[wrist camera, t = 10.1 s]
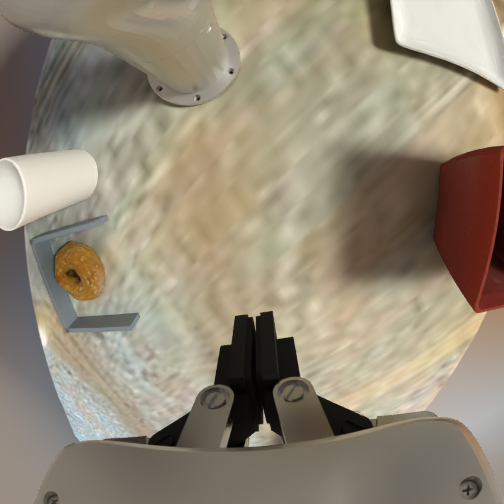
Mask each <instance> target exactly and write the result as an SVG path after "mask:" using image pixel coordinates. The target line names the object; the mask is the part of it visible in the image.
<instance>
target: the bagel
mask: <svg viewBox="0 0 504 504" xmlns="http://www.w3.org/2000/svg"><path fill="white" fill-rule="evenodd" d="M104 275H105V272H104V267H103V264H102V262H101V260H100V258H99V256H98V255H97V254H96V252H95V251H94V250H93V249H92V248H91V247H89V246H87V245H85V244H82V243H77V242H73V241H71V242H68V243H67V244H66V245H64V246H63V248H61V249H60V250H59V251H58V252H57V254H56V256H55V279H56V281H57V282H58V284H59V285H60V286H61V287H64V289H65V290H66V291H67V292H69V293H70V294H71V295H72V297H74V298H75V299H77V300H83V301H85V300H93V299H95V298H97V297H99V296H100V294H101V293H102V290H103V288H104V283H105V276H104Z"/></svg>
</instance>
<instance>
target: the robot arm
mask: <svg viewBox="0 0 504 504" xmlns="http://www.w3.org/2000/svg"><path fill="white" fill-rule="evenodd" d="M0 14H1V16H2V17H3V18H4V19H5V20H6V21H8V22H9V23H10V24H12V25H14V26H15V27H17V28H19V29H21V30H23V31H25V32H28V33H31V34H34V35H38V36H42V37H47V38H53V39H60V40H69V41H78V42H84V43H89V44H92V45H95V46H98V47H100V48H102V49H104V50H106V51H108V52H110V53H112V54H114V55H115V56H117V57H119V58H120V59H122V60H124V61H125V62H127V63H129V64H130V65H132V66H134V67H135V68H137V69H139V70H140V71H142V72H143V73H145V74H147V78H148V82H149V84H150V86H151V88H152V89H153V90H154V92H155V93H156V94H157V95H158V96H160V97H161V98H162V99H164V100H166V101H168V102H170V103H173V104H176V105H182V106H194V105H200V104H204V103H206V102H209V101H211V100H213V99H215V98H217V97H219V96H220V95H221V94H222V93H224V92H225V91H226V90H227V89H228V88H229V87H230V86H231V85H232V83H233V82H234V80H235V78H236V77H237V74H238V71H239V68H240V52H239V48H238V45H237V43H236V41H235V40H234V38H233V37H232V36H231V35H230V34H229V33H228V32H227V31H225V30H224V29H222V28H220V27H219V25H218V22H217V19H216V16H215V13H214V10H213V7H212V4H211V1H210V0H0ZM223 38H227V39H223ZM230 72H233V74H230ZM161 88H163V89H162V91H160V89H161ZM198 97H200V100H199V101H197V98H198ZM263 409H264V413H265V417H266V422H267V424H268V423H270V427H271V430H272V431H273V432H275V433H276V434H278V435H280V436H281V438H282V443H283V444H280V445H270V446H258V447H248V446H249V437H250V436H251V435H252V434H253V433H254V432H256V431H259V424H263ZM34 504H504V497H503V495H502V492H501V489H500V487H499V484H498V482H497V480H496V477H495V475H494V473H493V470H492V468H491V466H490V463H489V461H488V460H487V458H486V456H485V454H484V452H483V450H482V448H481V446H480V445H479V443H478V442H477V440H476V438H475V437H474V436H473V434H472V433H471V432H470V431H469V429H468V428H467V427H466V426H465V425H464V424H463V423H461V422H459V421H458V420H455V419H452V418H446V417H438V416H436V415H435V414H434V413H432V412H429V411H420V412H413V413H405V414H397V415H387V416H377V419H368V418H367V417H365V416H363V415H361V414H358V413H356V412H354V411H351V410H349V409H347V408H344V407H342V406H340V405H337V404H335V403H333V402H331V401H329V400H326V399H324V398H322V397H320V396H318V395H316V392H315V390H314V388H313V385H312V384H311V383H310V381H308V380H307V379H304V378H301V377H300V373H299V367H298V361H297V355H296V349H295V344H294V338H293V337H288V338H282V339H277V336H276V330H275V323H274V317H273V311H269V312H262V313H260V316H256V331H255V326H254V321H253V317H248V315H239V316H235V320H234V328H233V336H232V344H231V345H223V346H221V347H220V352H219V358H218V364H217V370H216V376H215V381H214V385H212V386H208V387H206V388H204V389H203V390H202V391H200V392H199V394H198V395H197V397H196V399H195V402H194V404H193V407H192V409H191V411H190V412H189V413H187V414H186V415H184V416H183V417H181V418H180V419H178V420H176V421H175V422H173V423H172V424H170V425H168V426H167V427H165V428H164V429H162V430H160V431H159V432H157V433H156V434H154V435H153V436H152V437H151V438H148V437H147V436H140V437H128V438H110V439H104V440H88V441H81V442H76V443H72V444H69V445H68V446H66V447H64V448H63V449H62V450H61V451H60V452H59V453H58V455H57V456H56V458H55V460H54V461H53V463H52V464H51V466H50V468H49V470H48V472H47V474H46V476H45V478H44V480H43V482H42V485H41V487H40V489H39V492H38V494H37V497H36V499H35V502H34Z"/></svg>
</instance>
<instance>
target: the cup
mask: <svg viewBox="0 0 504 504" xmlns="http://www.w3.org/2000/svg"><path fill="white" fill-rule="evenodd" d="M97 180H98V171H97V166H96V163H95V161H94V159H93V157H92V156H91V155H90V154H89V153H88V152H86V151H84V150H65V151H54V152H45V153H36V154H28V155H21V156H15V157H8V158H3V159H0V228H1V229H3V230H6V231H11V230H14V229H17V228H19V227H21V226H23V225H25V224H28V223H30V222H32V221H35V220H37V219H39V218H42V217H44V216H46V215H49V214H51V213H54V212H56V211H59V210H61V209H64V208H66V207H69V206H71V205H74V204H77V203H79V202H82V201H84V200H86V199H88V198H89V197H90V196H91V195H92V193H93V192H94V190H95V188H96V185H97Z"/></svg>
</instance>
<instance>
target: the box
mask: <svg viewBox="0 0 504 504" xmlns="http://www.w3.org/2000/svg"><path fill="white" fill-rule="evenodd" d="M106 221H108V216H107V215H105V216H101V217H98V218H94V219H90V220H87V221H83V222H79V223H76V224H72V225H69V226H65V227H62V228H59V229H55V230H52V231H49V232H46V233H43V234H41V235H39V236H37V237H35V238H33V239H31V240H30V242H31V245H32V249H33V252H34V255H35V258H36V261H37V264H38V267H39V269H40V272H41V275H42V277H43V280H44V283H45V285H46V288H47V290H48V293H49V295H50V298H51V300H52V302H53V305H54V307H55V309H56V311H57V314H58V316H59V318H60V320H61V322H62V324H63V326H64V328H65V330H66V332H108V331H131V330H132V329H133V328H134V326H135V324H136V323H137V321H138V320H139V318H140V316H139V313H133V314H120V315H106V316H91V317H77V314H76V312H75V310H74V308H73V305H72V303H71V301H70V298H69V296H68V293H67V291H66V290H65V289H64V287H61V286H60V285H59V284H58V282H57V281H56V279H55V258H54V255H53V252H52V249H51V246H50V242H49V239H53V238H57V237H60V236H64V235H67V234H71V233H75V232H79V231H83V230H86V229H90V228H94V227H97V226H99V225H100V224H102V223H104V222H106Z"/></svg>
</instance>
